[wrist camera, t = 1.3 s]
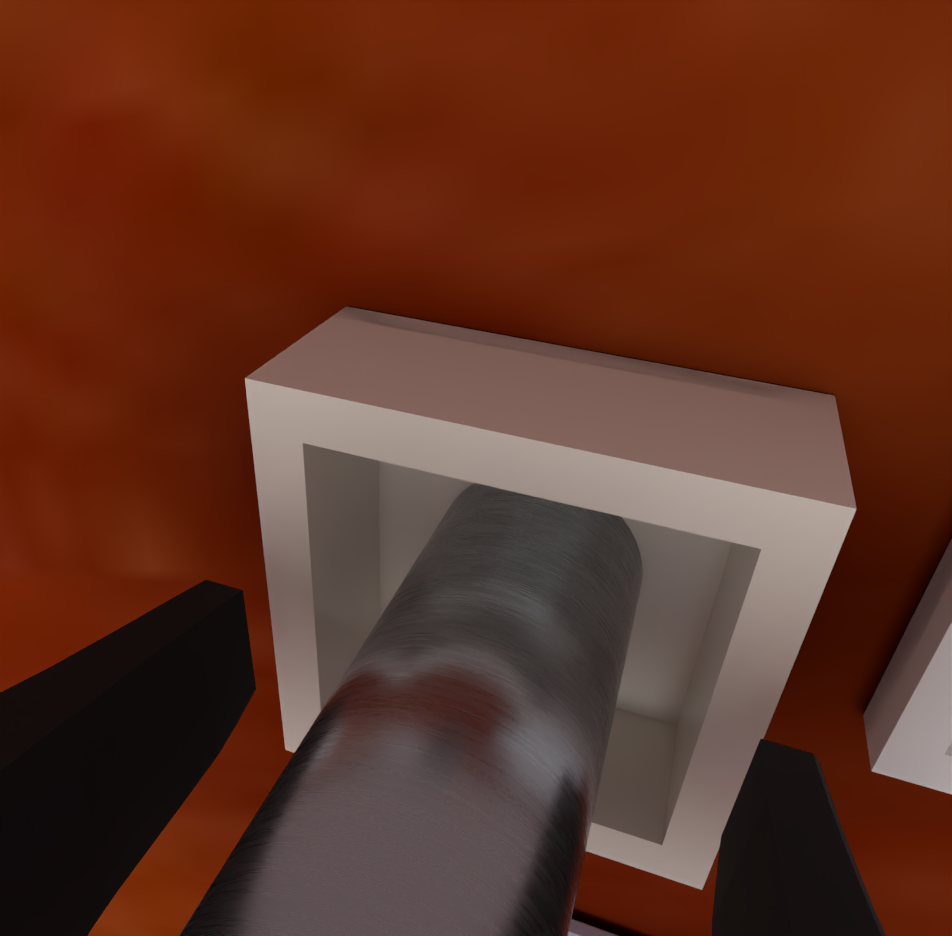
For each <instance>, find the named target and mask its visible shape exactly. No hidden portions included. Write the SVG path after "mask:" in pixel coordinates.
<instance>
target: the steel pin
mask: <svg viewBox="0 0 952 936" xmlns="http://www.w3.org/2000/svg"><path fill="white" fill-rule="evenodd" d="M642 576H643V572H642V560H641V554H640V551H639V548H638V545H637V542H636V540H635V538H634V536H633V534H632V532H631V530H630V528H629V527H628V525H627V524H626V523H625V521H624V520H623V518H622V517H621V516H616V515H612V514H608V513H603V512H599V511H595V510H590V509H586V508H582V507H577V506H573V505H569V504H564V503H560V502H556V501H551V500H547V499H543V498H538V497H534V496H530V495H525V494H521V493H517V492H512V491H508V490H504V489H500V488H495V487H491V486H487V485H482V484H478V483H473V484H472V485H470V486H469V487H468V488H466V489H465V490H464V491H463V492H462V493H461V494H460V495H459V496H458V497H456V499H455V500H454V501H453V503H452V504H451V506H450V507H449V509H448V510H447V512H446V513H445V515H444V517H443V518H442V520H441V521H440V523H439V525H438V526H437V528H436V529H435V531H434V532H433V534H432V536H431V537H430V539H429V540H428V542H427V544H426V545H425V547H424V548H423V550H422V551H421V553H420V555H419V556H418V558H417V559H416V561H415V563H414V564H413V566H412V567H411V569H410V571H409V572H408V574H407V575H406V577H405V578H404V580H403V582H402V583H401V585H400V586H399V588H398V590H397V591H396V593H395V594H394V596H393V597H392V599H391V601H390V602H389V604H388V605H387V607H386V609H385V610H384V612H383V613H382V615H381V617H380V618H379V620H378V621H377V623H376V624H375V626H374V628H373V629H372V631H371V632H370V634H369V636H368V637H367V639H366V640H365V642H364V643H363V645H362V647H361V648H360V650H359V651H358V653H357V655H356V656H355V658H354V659H353V661H352V663H351V664H350V666H349V667H348V669H347V670H346V672H345V674H344V675H343V677H342V678H341V680H340V682H339V683H338V685H337V686H336V688H335V689H334V691H333V693H332V694H331V696H330V697H329V699H328V701H327V702H326V704H325V705H324V707H323V709H322V710H321V712H320V713H319V715H318V716H317V718H316V720H315V721H314V723H313V724H312V726H311V728H310V729H309V731H308V732H307V734H306V735H305V737H304V739H303V740H302V742H301V743H300V745H299V747H298V748H297V750H296V751H295V753H294V755H293V756H292V758H291V759H290V761H289V762H288V764H287V766H286V767H285V769H284V770H283V772H282V774H281V775H280V777H279V778H278V780H277V781H276V783H275V785H274V786H273V788H272V789H271V791H270V793H269V794H268V796H267V797H266V799H265V800H264V802H263V804H262V805H261V807H260V808H259V810H258V812H257V813H256V815H255V816H254V818H253V820H252V821H251V823H250V824H249V826H248V827H247V829H246V831H245V832H244V834H243V835H242V837H241V839H240V840H239V842H238V843H237V845H236V846H235V848H234V850H233V851H232V853H231V854H230V856H229V858H228V859H227V861H226V862H225V864H224V866H223V867H222V869H221V870H220V872H219V873H218V875H217V877H216V878H215V880H214V881H213V883H212V885H211V886H210V888H209V889H208V891H207V892H206V894H205V896H204V897H203V899H202V900H201V902H200V904H199V905H198V907H197V908H196V910H195V912H194V913H193V915H192V916H191V918H190V919H189V921H188V923H187V924H186V926H185V927H184V929H183V931H182V932H181V934H180V935H179V936H568V932H569V927H570V923H571V918H572V913H573V908H574V904H575V899H576V894H577V889H578V884H579V880H580V875H581V870H582V865H583V861H584V856H585V851H586V846H587V841H588V837H589V832H590V827H591V822H592V818H593V813H594V808H595V803H596V799H597V794H598V789H599V784H600V779H601V775H602V770H603V765H604V760H605V756H606V751H607V746H608V741H609V737H610V732H611V727H612V722H613V717H614V713H615V708H616V703H617V698H618V694H619V689H620V684H621V679H622V675H623V670H624V665H625V660H626V655H627V651H628V646H629V641H630V636H631V632H632V627H633V622H634V617H635V613H636V608H637V603H638V598H639V593H640V589H641V583H642Z"/></svg>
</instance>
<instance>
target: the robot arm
mask: <svg viewBox="0 0 952 936" xmlns="http://www.w3.org/2000/svg"><path fill="white" fill-rule="evenodd" d="M255 689H256V686H255V678H254V671H253V663H252V656H251V648H250V641H249V634H248V626H247V619H246V611H245V604H244V596H243V590H240V589H236V588H233V587H229V586H226V585H222V584H219V583H215V582H212V581H208V580H205V581H203V582H201V583H200V584H198V585H196V586H194V587H192V588H190V589H188V590H187V591H185V592H183V593H181V594H179V595H178V596H176V597H174V598H172V599H170V600H169V601H167V602H165V603H163V604H162V605H160V606H158V607H156V608H155V609H153V610H151V611H149V612H148V613H146V614H144V615H142V616H141V617H139V618H137V619H135V620H134V621H132V622H130V623H128V624H127V625H125V626H123V627H121V628H120V629H118V630H116V631H114V632H113V633H111V634H109V635H107V636H106V637H104V638H102V639H100V640H98V641H97V642H95V643H93V644H91V645H89V646H88V647H86V648H84V649H82V650H80V651H79V652H77V653H75V654H73V655H71V656H70V657H68V658H66V659H64V660H62V661H61V662H59V663H57V664H55V665H53V666H52V667H50V668H48V669H46V670H44V671H42V672H40V673H38V674H36V675H34V676H32V677H30V678H28V679H26V680H24V681H22V682H20V683H18V684H17V685H15V686H13V687H11V688H9V689H7V690H5V691H3V692H1V693H0V936H87V935H88V934H89V932H90V931H91V929H92V927H93V926H94V924H95V923H96V921H97V920H98V918H99V917H100V916H101V914H102V913H103V911H104V910H105V908H106V907H107V905H108V904H109V903H110V901H111V900H112V898H113V897H114V895H115V894H116V892H117V891H118V890H119V888H120V887H121V886H122V884H123V883H124V882H125V880H126V879H127V878H128V876H129V875H130V874H131V872H132V871H133V870H134V868H135V867H136V865H137V864H138V863H139V861H140V860H141V859H142V857H143V856H144V855H145V853H146V852H147V851H148V849H149V848H150V847H151V845H152V844H153V843H154V841H155V840H156V839H157V837H158V836H159V835H160V833H161V832H162V831H163V829H164V828H165V827H166V825H167V824H168V822H169V821H170V820H171V818H172V817H173V816H174V814H175V813H176V812H177V810H178V809H179V808H180V806H181V805H182V804H183V802H184V801H185V800H186V798H187V797H188V796H189V794H190V793H191V791H192V790H193V789H194V787H195V786H196V785H197V783H198V782H199V780H200V779H201V778H202V776H203V775H204V774H205V772H206V771H207V770H208V768H209V767H210V765H211V764H212V763H213V761H214V760H215V758H216V757H217V756H218V754H219V753H220V751H221V750H222V748H223V746H224V744H225V743H226V741H227V739H228V738H229V736H230V734H231V733H232V731H233V729H234V727H235V726H236V724H237V722H238V721H239V719H240V717H241V715H242V713H243V711H244V710H245V708H246V706H247V704H248V702H249V700H250V699H251V697H252V695H253V693H254V691H255ZM568 936H619V935H616V934H613V933H610V932H608V931H605V930H602V929H599V928H596V927H594V926H591V925H588V924H585V923H582V922H580V921H577V920H574V919H571V923H570V927H569V932H568ZM712 936H886V935H885V933H884V930H883V928H882V926H881V924H880V921H879V919H878V917H877V914H876V912H875V910H874V908H873V905H872V903H871V900H870V898H869V895H868V893H867V891H866V888H865V886H864V883H863V881H862V878H861V876H860V873H859V871H858V868H857V866H856V863H855V861H854V858H853V855H852V853H851V850H850V848H849V845H848V843H847V840H846V837H845V835H844V832H843V829H842V827H841V824H840V821H839V818H838V816H837V813H836V810H835V807H834V804H833V802H832V799H831V796H830V793H829V790H828V787H827V784H826V781H825V778H824V775H823V772H822V769H821V766H820V763H819V761H818V760H817V758H816V757H815V756H814V754H813V753H809V752H806V751H802V750H799V749H795V748H792V747H788V746H785V745H781V744H778V743H774V742H771V741H767V740H764V739H760V741H759V744H758V746H757V749H756V751H755V754H754V756H753V759H752V761H751V764H750V766H749V769H748V771H747V773H746V776H745V778H744V781H743V783H742V786H741V788H740V791H739V793H738V796H737V798H736V801H735V803H734V806H733V808H732V811H731V813H730V816H729V818H728V821H727V823H726V826H725V828H724V831H723V833H722V835H721V841H720V850H719V860H718V869H717V878H716V888H715V899H714V909H713V920H712Z"/></svg>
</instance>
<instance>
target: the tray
mask: <svg viewBox="0 0 952 936" xmlns="http://www.w3.org/2000/svg"><path fill="white" fill-rule="evenodd" d="M863 718H864V725H865V731H866V738H867V745H868V752H869V759H870V766H871V771H872V772H876V773H879V774H883V775H886V776H890V777H893V778H897V779H900V780H904V781H907V782H911V783H914V784H918V785H921V786H925V787H928V788H932V789H935V790H939V791H942V792H946V793H949V794H952V539H951V541H950V543H949V545H948V547H947V549H946V551H945V553H944V555H943V557H942V559H941V561H940V563H939V565H938V567H937V569H936V571H935V573H934V575H933V577H932V579H931V581H930V583H929V585H928V587H927V589H926V591H925V593H924V595H923V597H922V599H921V601H920V603H919V605H918V607H917V609H916V611H915V613H914V615H913V617H912V619H911V621H910V623H909V625H908V627H907V629H906V631H905V633H904V635H903V637H902V639H901V641H900V643H899V645H898V647H897V649H896V651H895V653H894V655H893V657H892V659H891V661H890V663H889V665H888V667H887V669H886V671H885V673H884V675H883V677H882V679H881V681H880V683H879V685H878V687H877V689H876V691H875V693H874V695H873V697H872V699H871V701H870V703H869V705H868V707H867V709H866V711H865V713H864V715H863Z"/></svg>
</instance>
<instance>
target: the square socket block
mask: <svg viewBox="0 0 952 936" xmlns="http://www.w3.org/2000/svg"><path fill="white" fill-rule="evenodd" d="M245 386H246V395H247V404H248V413H249V422H250V431H251V440H252V449H253V459H254V468H255V477H256V486H257V495H258V504H259V513H260V522H261V532H262V541H263V550H264V559H265V568H266V577H267V586H268V595H269V605H270V614H271V623H272V632H273V641H274V650H275V659H276V669H277V678H278V687H279V696H280V705H281V714H282V723H283V732H284V742H285V750H288V751H290V752H293V753H295V751H296V750H297V748H298V747H299V745H300V743H301V742H302V740H303V739H304V737H305V735H306V734H307V732H308V731H309V729H310V728H311V726H312V724H313V723H314V721H315V720H316V718H317V716H318V715H319V713H320V712H321V710H322V709H323V707H324V705H325V704H326V702H327V701H328V699H329V697H330V696H331V694H332V693H333V691H334V689H335V688H336V686H337V685H338V683H339V682H340V680H341V678H342V677H343V675H344V674H345V672H346V670H347V669H348V667H349V666H350V664H351V663H352V661H353V659H354V658H355V656H356V655H357V653H358V651H359V650H360V648H361V647H362V645H363V643H364V642H365V640H366V639H367V637H368V636H369V634H370V632H371V631H372V629H373V628H374V626H375V624H376V623H377V621H378V620H379V618H380V617H381V615H382V613H383V612H384V610H385V609H386V607H387V605H388V604H389V602H390V601H391V599H392V597H393V596H394V594H395V593H396V591H397V590H398V588H399V586H400V585H401V583H402V582H403V580H404V578H405V577H406V575H407V574H408V572H409V571H410V569H411V567H412V566H413V564H414V563H415V561H416V559H417V558H418V556H419V555H420V553H421V551H422V550H423V548H424V547H425V545H426V544H427V542H428V540H429V539H430V537H431V536H432V534H433V532H434V531H435V529H436V528H437V526H438V525H439V523H440V521H441V520H442V518H443V517H444V515H445V513H446V512H447V510H448V509H449V507H450V506H451V504H452V503H453V501H454V500H455V499H456V497H458V496H459V495H460V494H461V493H462V492H463V491H464V490H465V489H466V488H468V487H469V486H470V485H472V484H473V483H478V484H482V485H487V486H491V487H495V488H500V489H504V490H508V491H512V492H517V493H521V494H525V495H530V496H534V497H538V498H543V499H547V500H551V501H556V502H560V503H564V504H569V505H573V506H577V507H582V508H586V509H590V510H595V511H599V512H603V513H608V514H612V515H616V516H621V517H622V518H623V520H624V521H625V523H626V524H627V525H628V527H629V528H630V530H631V532H632V534H633V536H634V538H635V540H636V542H637V545H638V548H639V551H640V554H641V560H642V572H643V576H642V583H641V589H640V593H639V598H638V603H637V608H636V613H635V617H634V622H633V627H632V632H631V636H630V641H629V646H628V651H627V655H626V660H625V665H624V670H623V675H622V679H621V684H620V689H619V694H618V698H617V703H616V708H615V713H614V717H613V722H612V727H611V732H610V737H609V741H608V746H607V751H606V756H605V760H604V765H603V770H602V775H601V779H600V784H599V789H598V794H597V799H596V803H595V808H594V813H593V818H592V822H591V827H590V832H589V837H588V841H587V846H586V851H588V852H591V853H594V854H597V855H600V856H603V857H605V858H608V859H611V860H614V861H617V862H620V863H623V864H626V865H629V866H632V867H635V868H638V869H641V870H644V871H647V872H650V873H653V874H656V875H659V876H662V877H665V878H668V879H671V880H674V881H677V882H680V883H683V884H686V885H689V886H692V887H695V888H698V889H701V890H702V889H703V887H704V884H705V882H706V879H707V877H708V874H709V872H710V869H711V867H712V864H713V862H714V859H715V857H716V854H717V852H718V849H719V847H720V841H721V835H722V833H723V831H724V828H725V826H726V823H727V821H728V818H729V816H730V813H731V811H732V808H733V806H734V803H735V801H736V798H737V796H738V793H739V791H740V788H741V786H742V783H743V781H744V778H745V776H746V773H747V771H748V769H749V766H750V764H751V761H752V759H753V756H754V754H755V751H756V749H757V746H758V744H759V741H760V739H763V738H764V736H765V734H766V731H767V729H768V726H769V724H770V721H771V719H772V716H773V714H774V711H775V709H776V706H777V704H778V701H779V699H780V697H781V694H782V692H783V689H784V687H785V684H786V682H787V679H788V677H789V674H790V672H791V669H792V667H793V664H794V662H795V660H796V657H797V655H798V652H799V650H800V647H801V645H802V642H803V640H804V637H805V635H806V632H807V630H808V627H809V625H810V623H811V620H812V618H813V615H814V613H815V610H816V608H817V605H818V603H819V600H820V598H821V595H822V593H823V590H824V588H825V586H826V583H827V581H828V578H829V576H830V573H831V571H832V568H833V566H834V563H835V561H836V558H837V556H838V553H839V551H840V548H841V546H842V544H843V541H844V539H845V536H846V534H847V531H848V529H849V526H850V524H851V521H852V519H853V516H854V514H855V511H856V504H855V498H854V493H853V488H852V483H851V477H850V472H849V467H848V462H847V457H846V451H845V446H844V441H843V436H842V431H841V425H840V420H839V415H838V410H837V405H836V399H835V396H834V395H829V394H823V393H818V392H812V391H807V390H801V389H796V388H790V387H785V386H779V385H774V384H768V383H763V382H757V381H752V380H746V379H741V378H735V377H730V376H724V375H719V374H714V373H708V372H703V371H697V370H692V369H686V368H681V367H675V366H670V365H664V364H659V363H653V362H648V361H642V360H637V359H631V358H626V357H620V356H615V355H609V354H604V353H599V352H593V351H588V350H582V349H577V348H571V347H566V346H560V345H555V344H549V343H544V342H538V341H533V340H527V339H522V338H516V337H511V336H505V335H500V334H494V333H489V332H483V331H478V330H473V329H467V328H462V327H456V326H451V325H445V324H440V323H434V322H429V321H423V320H418V319H412V318H407V317H401V316H396V315H390V314H385V313H379V312H374V311H368V310H363V309H358V308H352V307H347V306H346V307H345V308H343V309H342V310H340V311H339V312H338V313H336V314H335V315H333V316H332V317H331V318H329V319H328V320H326V321H325V322H323V323H322V324H321V325H319V326H318V327H316V328H315V329H314V330H312V331H311V332H309V333H308V334H307V335H305V336H304V337H302V338H301V339H299V340H298V341H297V342H295V343H294V344H292V345H291V346H290V347H288V348H287V349H285V350H284V351H282V352H281V353H280V354H278V355H277V356H275V357H274V358H273V359H271V360H270V361H268V362H267V363H266V364H264V365H263V366H261V367H260V368H258V369H257V370H256V371H254V372H253V373H251V374H250V375H249V376H247V377H246V378H245Z"/></svg>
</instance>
